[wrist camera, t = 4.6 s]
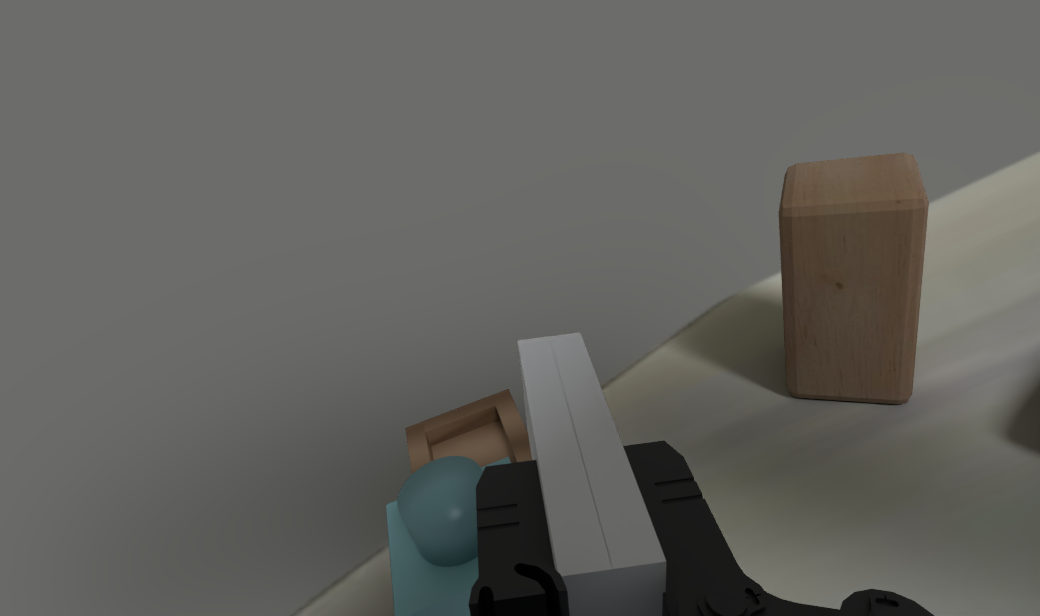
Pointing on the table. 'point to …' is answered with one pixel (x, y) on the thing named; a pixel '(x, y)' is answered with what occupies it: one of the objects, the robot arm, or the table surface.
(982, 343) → the table surface
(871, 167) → the wooden block
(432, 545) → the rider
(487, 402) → the beam
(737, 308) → the table surface
